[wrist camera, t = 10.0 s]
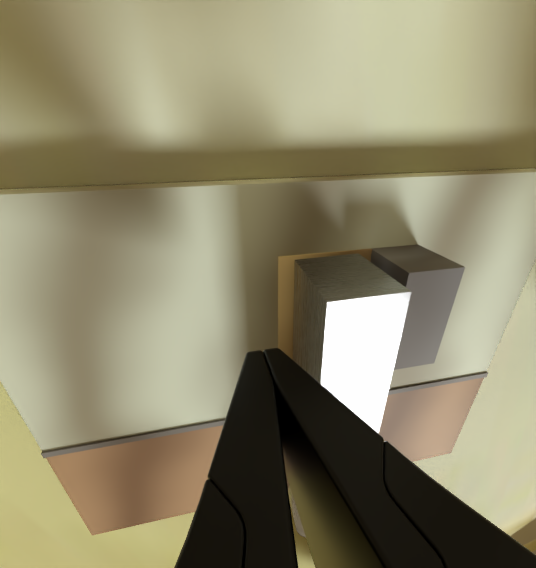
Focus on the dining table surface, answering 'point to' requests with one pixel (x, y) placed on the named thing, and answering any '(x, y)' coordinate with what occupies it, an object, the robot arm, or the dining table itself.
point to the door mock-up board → (236, 312)
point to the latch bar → (347, 332)
